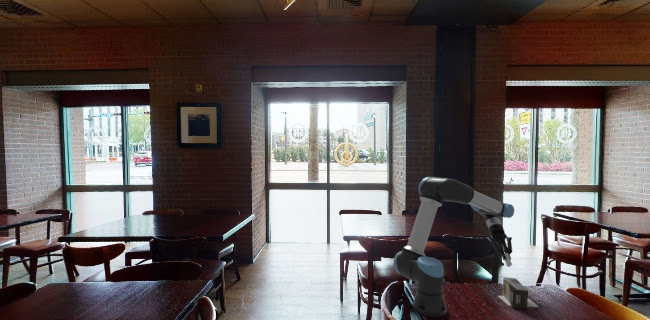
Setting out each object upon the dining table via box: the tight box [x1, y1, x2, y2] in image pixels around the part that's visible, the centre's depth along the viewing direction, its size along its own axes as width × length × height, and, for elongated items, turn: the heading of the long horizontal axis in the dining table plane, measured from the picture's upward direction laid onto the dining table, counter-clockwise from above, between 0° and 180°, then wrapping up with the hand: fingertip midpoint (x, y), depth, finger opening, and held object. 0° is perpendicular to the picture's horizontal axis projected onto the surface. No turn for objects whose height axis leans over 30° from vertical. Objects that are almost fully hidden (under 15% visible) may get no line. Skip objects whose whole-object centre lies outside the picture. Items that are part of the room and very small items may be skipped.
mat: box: [497, 295, 539, 308], centre depth 164 cm, size 14×11×1 cm
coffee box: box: [502, 276, 529, 310], centre depth 163 cm, size 9×6×16 cm
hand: (509, 265), depth 172 cm, fingers closed
